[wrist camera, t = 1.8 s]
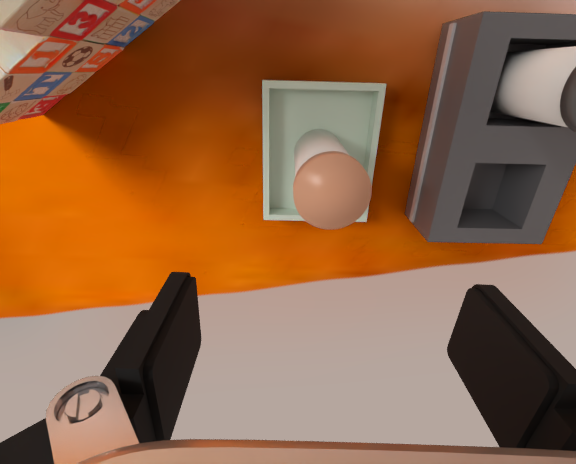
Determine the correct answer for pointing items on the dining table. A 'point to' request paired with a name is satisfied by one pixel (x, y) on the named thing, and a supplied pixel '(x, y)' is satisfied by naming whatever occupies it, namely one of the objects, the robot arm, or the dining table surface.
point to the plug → (328, 182)
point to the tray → (308, 116)
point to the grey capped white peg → (539, 86)
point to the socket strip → (488, 138)
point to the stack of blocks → (62, 46)
